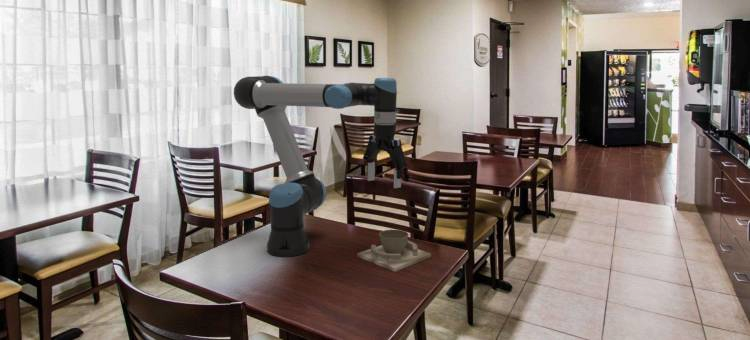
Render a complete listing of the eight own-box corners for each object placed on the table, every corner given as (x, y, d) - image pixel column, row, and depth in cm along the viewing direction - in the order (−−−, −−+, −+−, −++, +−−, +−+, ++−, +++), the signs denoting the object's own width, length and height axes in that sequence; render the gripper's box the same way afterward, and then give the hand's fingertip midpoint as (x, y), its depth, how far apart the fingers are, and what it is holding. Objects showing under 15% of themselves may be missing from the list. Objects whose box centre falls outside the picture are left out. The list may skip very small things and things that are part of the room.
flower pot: (406, 260, 165) (406, 239, 164) (376, 257, 167) (376, 237, 166) (410, 249, 175) (410, 230, 173) (382, 247, 177) (382, 228, 175)
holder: (357, 256, 172) (357, 246, 171) (393, 243, 184) (393, 234, 183) (394, 271, 159) (394, 260, 158) (431, 256, 171) (431, 246, 170)
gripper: (353, 120, 176) (353, 178, 181) (402, 128, 158) (401, 192, 162) (369, 119, 181) (368, 176, 186) (419, 126, 163) (416, 189, 167)
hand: (383, 183), depth 174 cm, fingers open, 13 cm apart
